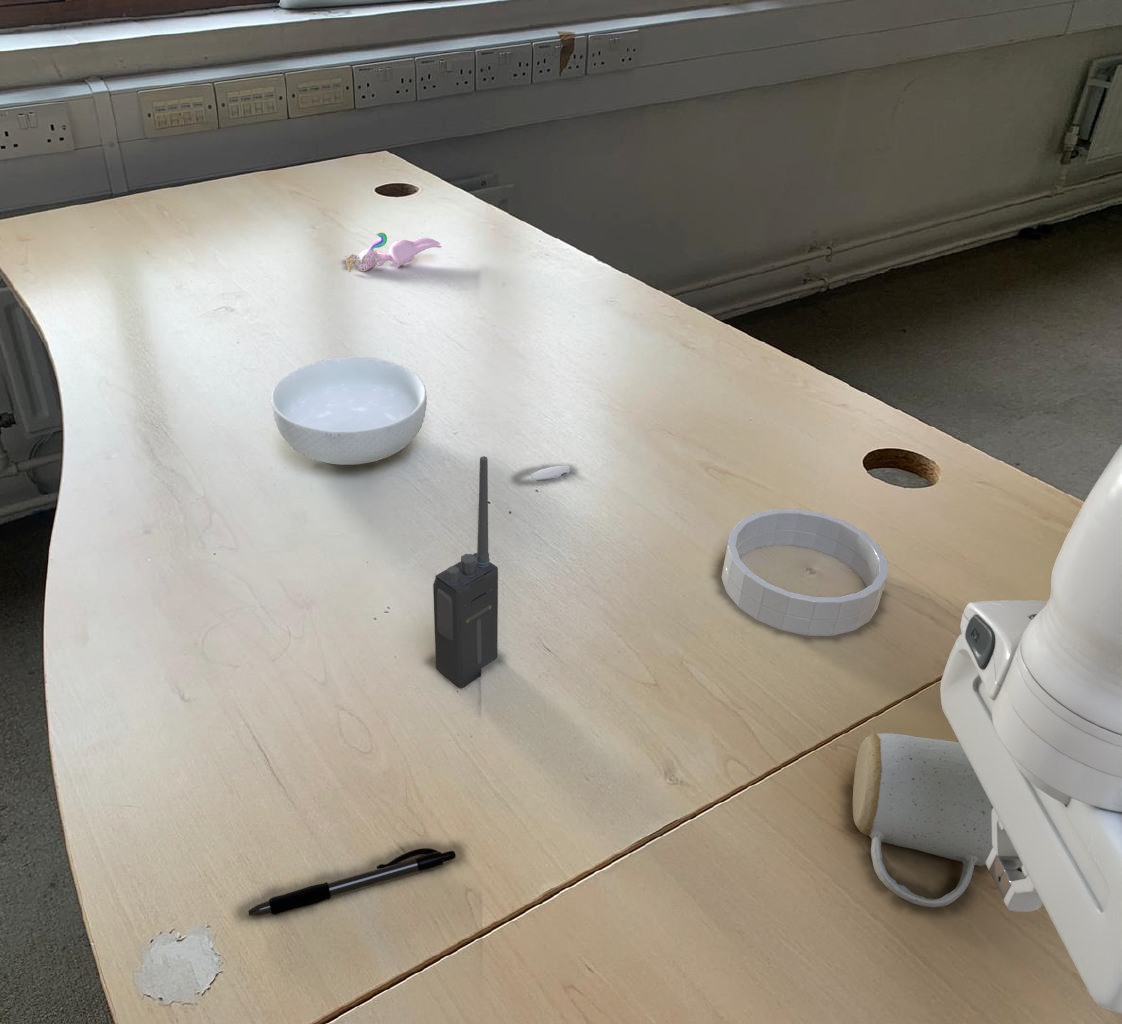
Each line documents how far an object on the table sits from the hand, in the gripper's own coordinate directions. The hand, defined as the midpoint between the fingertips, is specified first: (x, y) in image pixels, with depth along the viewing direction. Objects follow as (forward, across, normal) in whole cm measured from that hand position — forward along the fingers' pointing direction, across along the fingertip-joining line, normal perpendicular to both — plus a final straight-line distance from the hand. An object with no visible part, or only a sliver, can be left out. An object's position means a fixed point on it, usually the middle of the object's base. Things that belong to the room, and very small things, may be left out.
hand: (1010, 888), depth 56 cm
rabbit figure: (+9, +115, +43) cm, 123 cm away
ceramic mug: (+9, +9, 0) cm, 12 cm away
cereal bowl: (+9, +61, +44) cm, 76 cm away
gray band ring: (+8, +36, +1) cm, 37 cm away
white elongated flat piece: (+9, +54, +23) cm, 59 cm away
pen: (+9, +5, +38) cm, 39 cm away
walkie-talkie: (+9, +26, +31) cm, 41 cm away
